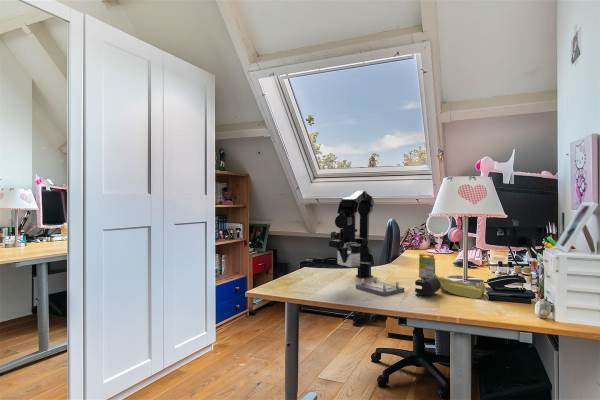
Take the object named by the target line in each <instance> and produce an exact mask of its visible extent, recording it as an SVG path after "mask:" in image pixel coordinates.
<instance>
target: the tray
mask: <svg viewBox="0 0 600 400" xmlns="http://www.w3.org/2000/svg"><path fill="white" fill-rule="evenodd" d="M377 279H378V278H377V276H373V280H372V281H367V282H365V278H361V279H360V280H361V281H360V283H357V284H355V289H357V290H361V291H365V292H368V293H371V294H375V295H379V296H382V297H387V296H391V295H395V294H399V293H403V292H405V287H403V286H399V284H400V283H399V281H395V285H394V284H391V283H390V284H389V283H386V282H381V281H379V280H377Z"/></svg>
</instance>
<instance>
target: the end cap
mask: <svg viewBox="0 0 600 400" xmlns="http://www.w3.org/2000/svg"><path fill="white" fill-rule="evenodd" d="M414 284H415V286H418V287H421V288H418V287H415V289H414V292H415V296H417V297H420V296H421V297H420V298H429V296H431V295H434V294H435V293H437V292H438V291H439V290H441V289H440V287H441V284H440V281H439V280H438V279H437V278H435V277H432V278H425V277H420V279H415V282H414Z"/></svg>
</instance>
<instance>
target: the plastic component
mask: <svg viewBox="0 0 600 400" xmlns="http://www.w3.org/2000/svg"><path fill="white" fill-rule="evenodd" d="M434 276H435V278H437V279H438V280H439V281H440V284H441V287H440V289H439V290H441V291H445V292H448V293H450V294H453V295H456V296H460V297H465V298H468V297H469V299H474V298H475V299H474V300H476V299H477V298H478V299H479V298H481V297H482V296H483V295H484V294H485V292H486V285H485V282H482V283H481V286H480V285H475V284H471V283H470V284H469V283H464V282H459V281H455V280H452V279H448V278H445V277H442V276H438V275H437V273H436V272H435V273H434Z"/></svg>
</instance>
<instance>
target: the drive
mask: <svg viewBox="0 0 600 400" xmlns="http://www.w3.org/2000/svg"><path fill="white" fill-rule="evenodd" d="M336 264H337V265H340V266H344V267H345V266H346V267H347V268H348V267H349V268H355V267H356V268H358V266H360V253H355V252H351V251H349V250H348V251H347V257H346V262H345V263H343V261H342V258H341V255H340V253H339V251H337V263H336Z"/></svg>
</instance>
